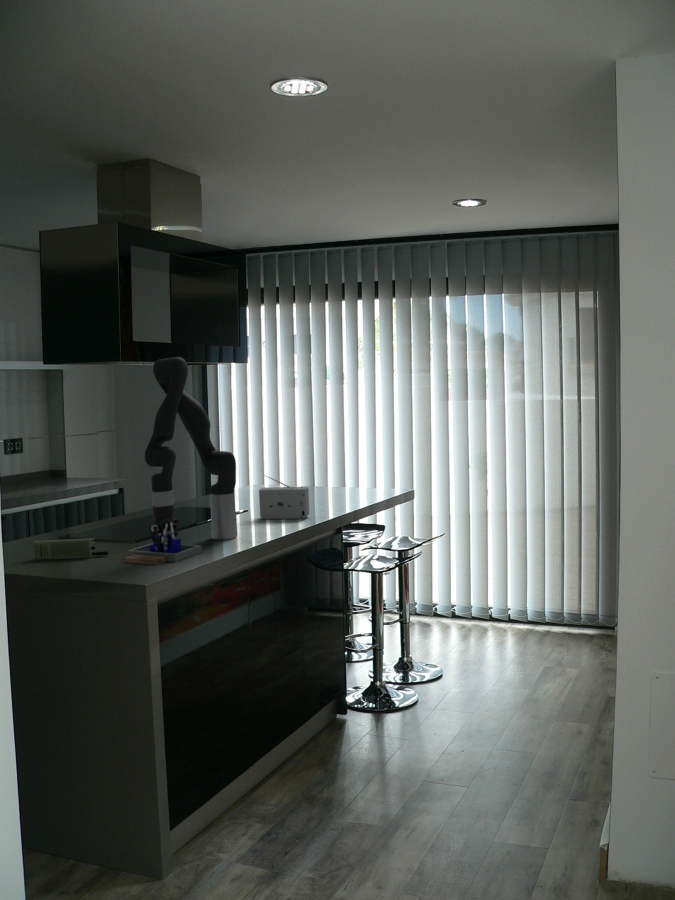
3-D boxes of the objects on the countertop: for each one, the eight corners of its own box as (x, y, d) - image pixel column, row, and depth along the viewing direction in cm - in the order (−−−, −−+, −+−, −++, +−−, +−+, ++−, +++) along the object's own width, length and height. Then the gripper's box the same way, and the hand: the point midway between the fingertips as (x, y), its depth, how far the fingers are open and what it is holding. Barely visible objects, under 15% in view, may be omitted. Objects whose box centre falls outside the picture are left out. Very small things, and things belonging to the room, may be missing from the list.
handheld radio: (37, 558, 300) (109, 555, 301) (34, 561, 296) (107, 557, 298) (35, 540, 299) (108, 537, 300) (33, 542, 296) (106, 539, 297)
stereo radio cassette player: (309, 516, 370) (308, 470, 368) (307, 519, 361) (305, 472, 360) (262, 517, 372) (260, 471, 370) (258, 520, 364) (256, 473, 362)
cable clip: (150, 554, 300) (149, 537, 299) (160, 551, 303) (159, 535, 303) (170, 558, 292) (169, 541, 291) (181, 556, 295) (180, 538, 295)
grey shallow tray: (155, 549, 308) (154, 542, 308) (201, 552, 300) (201, 545, 299) (127, 557, 295) (127, 550, 295) (175, 561, 286) (175, 554, 286)
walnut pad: (134, 559, 293) (134, 554, 292) (165, 561, 287) (165, 557, 287) (125, 562, 288) (124, 557, 288) (156, 564, 282) (155, 560, 282)
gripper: (167, 499, 304) (169, 546, 306) (141, 506, 291) (144, 555, 293) (184, 500, 301) (187, 548, 302) (158, 507, 288) (161, 556, 290)
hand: (165, 551), depth 298 cm, fingers closed on cable clip, 5 cm apart
